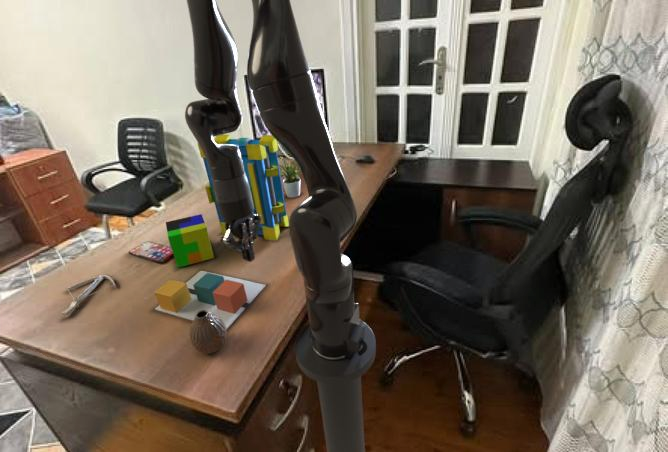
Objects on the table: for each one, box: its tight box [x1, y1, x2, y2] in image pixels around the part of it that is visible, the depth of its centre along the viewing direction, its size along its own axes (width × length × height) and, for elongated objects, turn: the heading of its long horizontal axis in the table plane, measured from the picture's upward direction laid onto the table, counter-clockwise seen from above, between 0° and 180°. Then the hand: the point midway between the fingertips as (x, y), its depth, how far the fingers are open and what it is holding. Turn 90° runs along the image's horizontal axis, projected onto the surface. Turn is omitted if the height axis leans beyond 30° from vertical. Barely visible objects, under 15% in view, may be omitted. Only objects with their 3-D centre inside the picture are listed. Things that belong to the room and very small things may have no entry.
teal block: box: [193, 272, 225, 305], centre depth 84 cm, size 5×5×5 cm
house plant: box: [278, 156, 302, 199], centre depth 134 cm, size 14×14×16 cm
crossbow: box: [61, 274, 117, 318], centre depth 90 cm, size 16×13×2 cm
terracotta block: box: [212, 280, 247, 314], centre depth 81 cm, size 5×5×5 cm
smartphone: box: [128, 241, 174, 264], centre depth 106 cm, size 7×1×15 cm
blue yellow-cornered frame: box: [197, 134, 289, 242], centre depth 107 cm, size 14×23×30 cm, turn 70°
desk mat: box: [154, 270, 267, 331], centre depth 86 cm, size 21×16×1 cm
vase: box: [189, 310, 228, 355], centre depth 70 cm, size 7×7×9 cm
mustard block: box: [154, 279, 192, 313], centre depth 83 cm, size 5×5×5 cm
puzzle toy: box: [165, 213, 215, 269], centre depth 101 cm, size 10×10×10 cm
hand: (249, 259), depth 85 cm, fingers closed
